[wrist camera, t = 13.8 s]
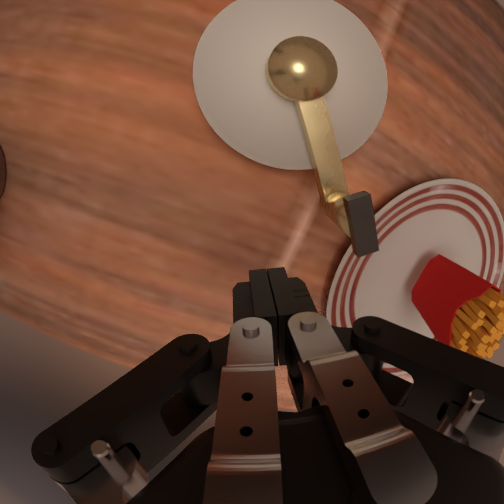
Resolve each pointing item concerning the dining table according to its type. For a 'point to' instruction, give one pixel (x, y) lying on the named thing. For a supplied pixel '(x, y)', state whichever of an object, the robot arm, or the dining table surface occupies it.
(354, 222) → the crank
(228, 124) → the crank housing
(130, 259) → the dining table surface
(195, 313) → the dining table surface
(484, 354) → the french fries
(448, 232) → the dinner plate
